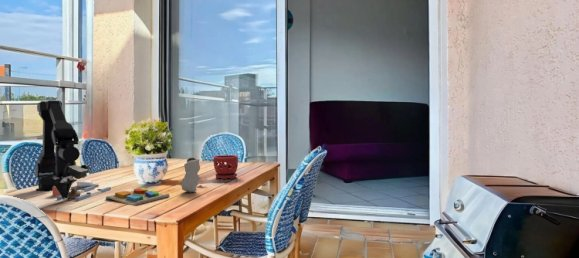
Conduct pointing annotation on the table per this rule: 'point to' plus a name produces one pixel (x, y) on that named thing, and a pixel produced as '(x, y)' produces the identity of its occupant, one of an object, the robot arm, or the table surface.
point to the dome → (85, 183)
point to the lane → (88, 193)
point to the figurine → (191, 175)
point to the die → (55, 191)
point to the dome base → (83, 187)
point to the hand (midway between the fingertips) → (64, 198)
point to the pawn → (73, 194)
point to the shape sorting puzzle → (137, 196)
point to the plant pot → (226, 166)
